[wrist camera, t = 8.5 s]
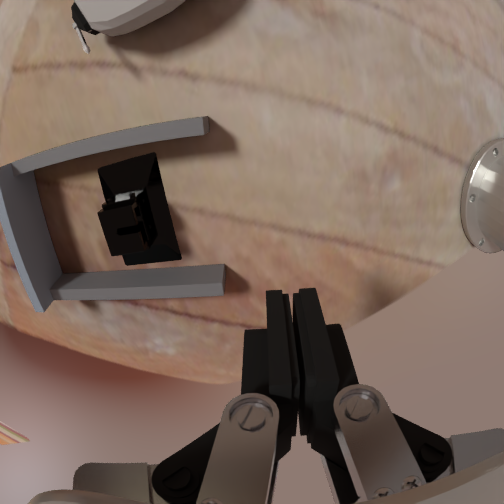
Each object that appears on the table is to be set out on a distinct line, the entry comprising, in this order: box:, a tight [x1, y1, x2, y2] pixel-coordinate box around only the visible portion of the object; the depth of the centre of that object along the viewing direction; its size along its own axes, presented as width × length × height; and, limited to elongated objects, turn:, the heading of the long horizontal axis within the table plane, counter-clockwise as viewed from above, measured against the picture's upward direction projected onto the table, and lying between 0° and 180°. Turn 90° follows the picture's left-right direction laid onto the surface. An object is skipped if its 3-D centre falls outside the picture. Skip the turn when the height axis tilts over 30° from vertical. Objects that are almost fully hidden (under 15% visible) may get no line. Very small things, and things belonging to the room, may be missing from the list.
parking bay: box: [0, 116, 226, 312], centre depth 21 cm, size 18×14×5 cm
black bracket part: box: [98, 152, 182, 266], centre depth 22 cm, size 12×7×5 cm, turn 8°
